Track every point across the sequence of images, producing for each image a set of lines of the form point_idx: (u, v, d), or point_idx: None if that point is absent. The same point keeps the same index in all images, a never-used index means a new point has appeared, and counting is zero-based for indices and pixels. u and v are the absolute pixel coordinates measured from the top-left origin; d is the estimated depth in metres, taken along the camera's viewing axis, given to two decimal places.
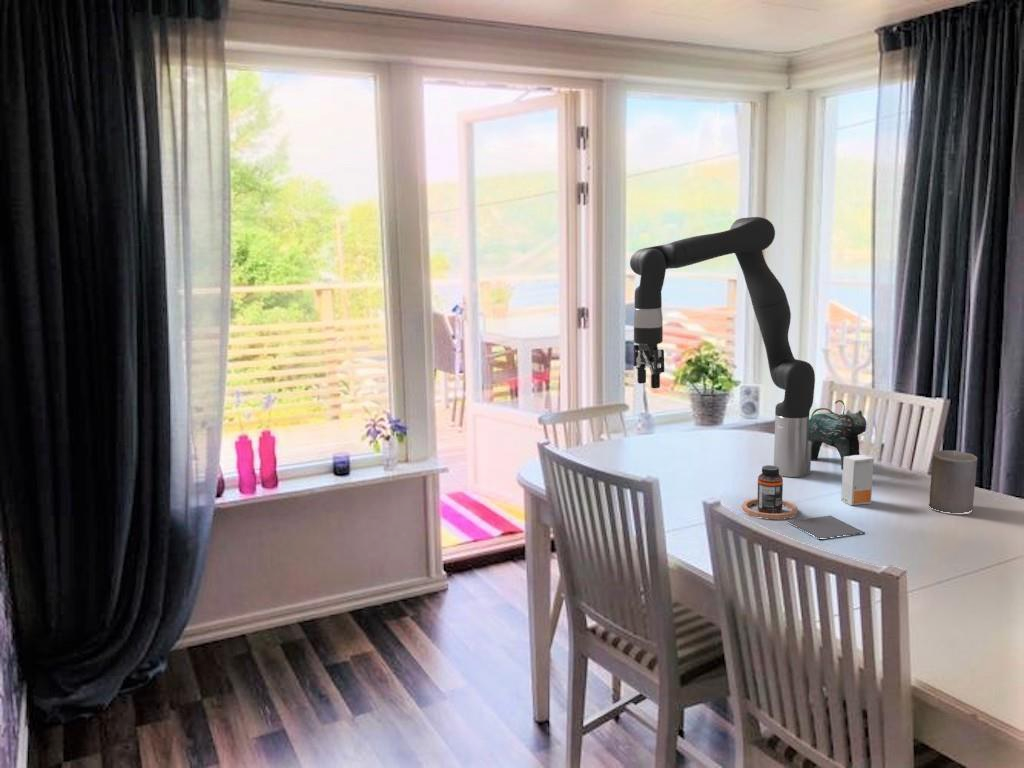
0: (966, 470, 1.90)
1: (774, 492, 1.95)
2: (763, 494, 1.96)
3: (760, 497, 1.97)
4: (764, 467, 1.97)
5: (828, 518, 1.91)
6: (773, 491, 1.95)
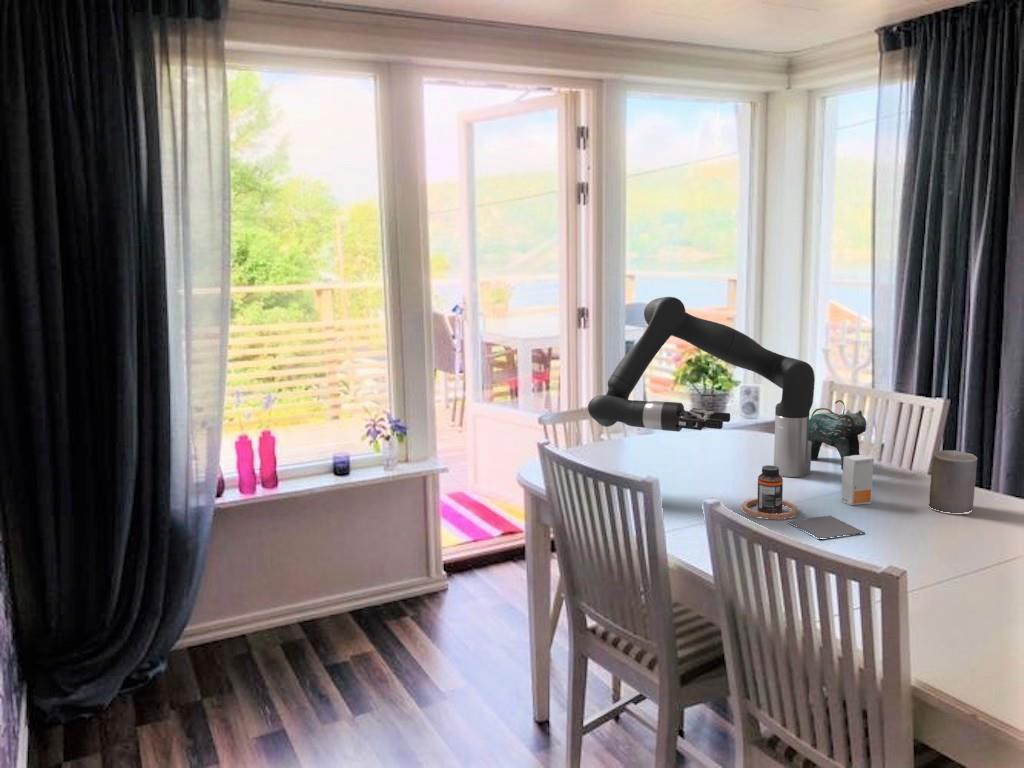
0: (966, 470, 1.90)
1: (774, 492, 1.95)
2: (763, 494, 1.96)
3: (760, 497, 1.97)
4: (764, 467, 1.97)
5: (828, 518, 1.91)
6: (773, 491, 1.95)
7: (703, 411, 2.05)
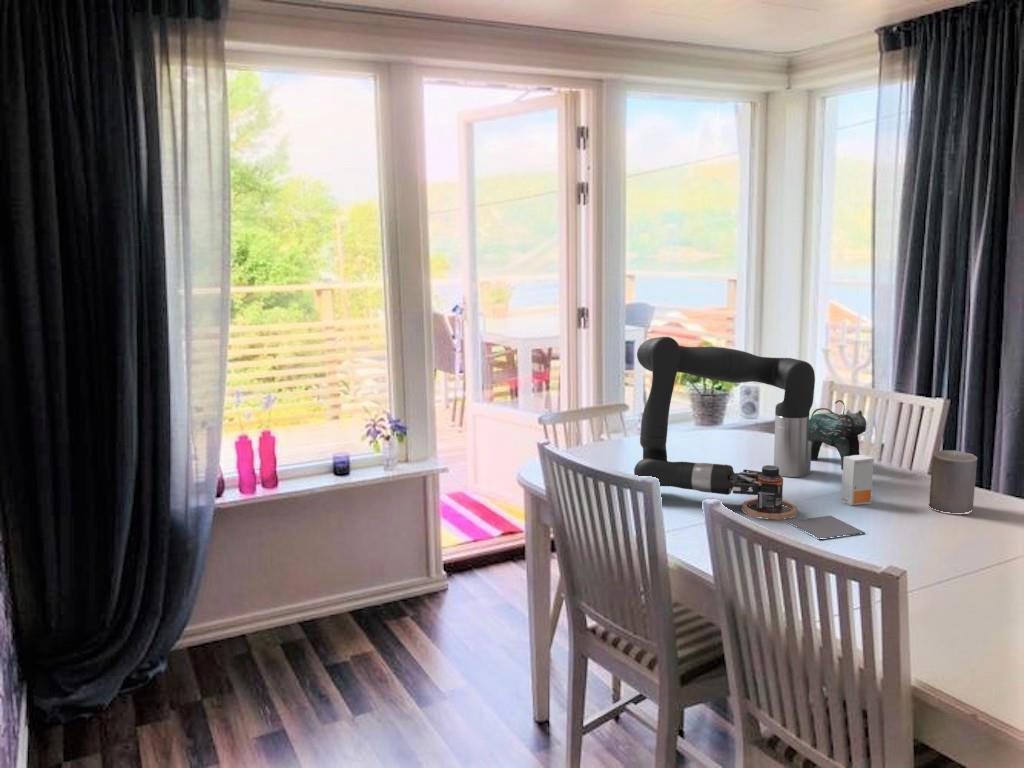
0: (966, 470, 1.90)
1: None
2: (763, 493, 1.96)
3: (760, 496, 1.97)
4: (764, 467, 1.97)
5: (828, 518, 1.91)
6: None
7: (754, 474, 2.01)
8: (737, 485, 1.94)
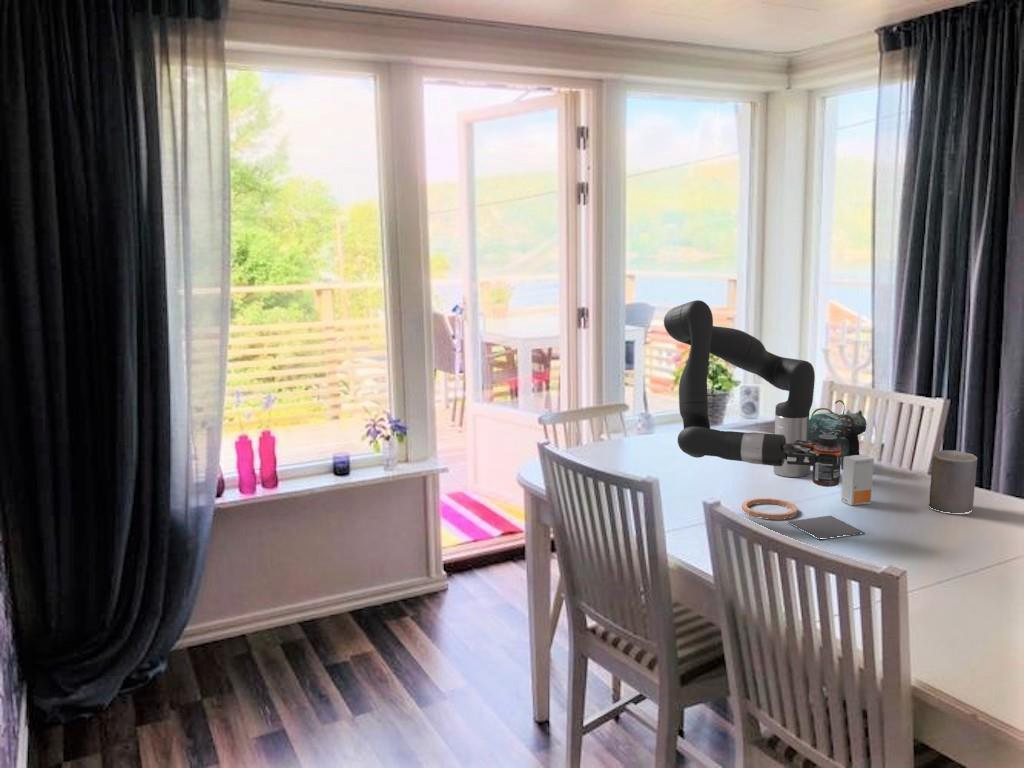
0: (966, 470, 1.90)
1: None
2: (819, 465, 1.81)
3: (816, 468, 1.82)
4: (821, 436, 1.82)
5: (828, 518, 1.91)
6: None
7: (808, 445, 1.86)
8: (792, 455, 1.80)
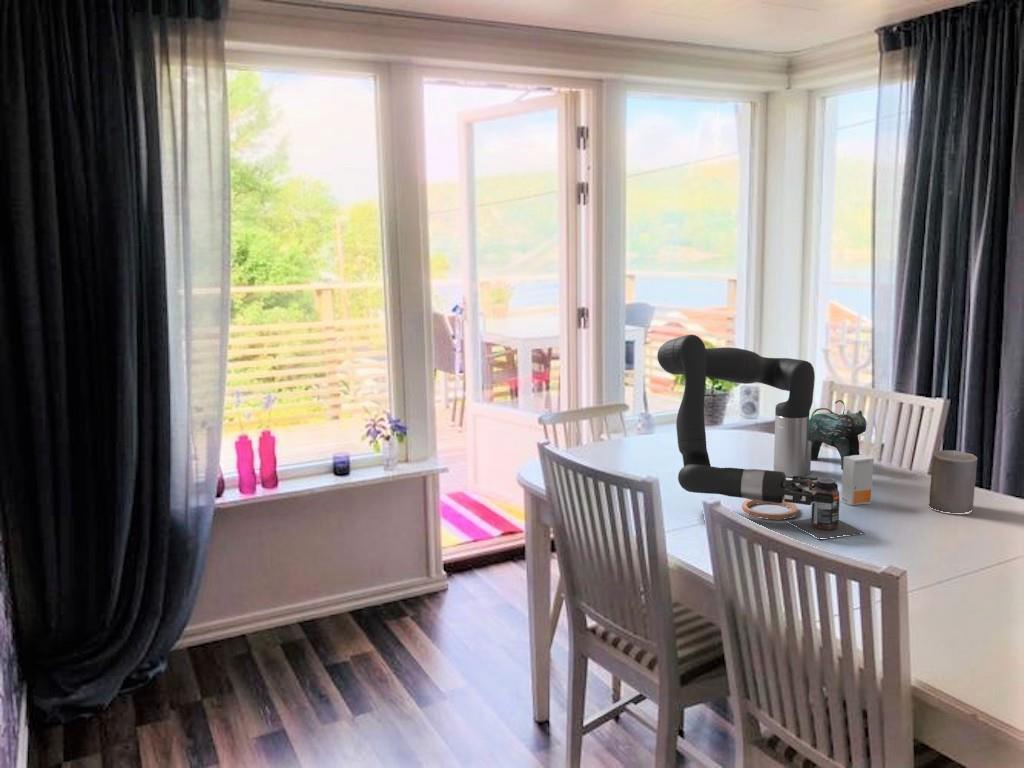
0: (966, 470, 1.90)
1: (831, 506, 1.82)
2: (818, 508, 1.83)
3: (815, 511, 1.84)
4: (819, 480, 1.84)
5: None
6: (829, 505, 1.82)
7: (807, 481, 1.88)
8: (789, 493, 1.81)
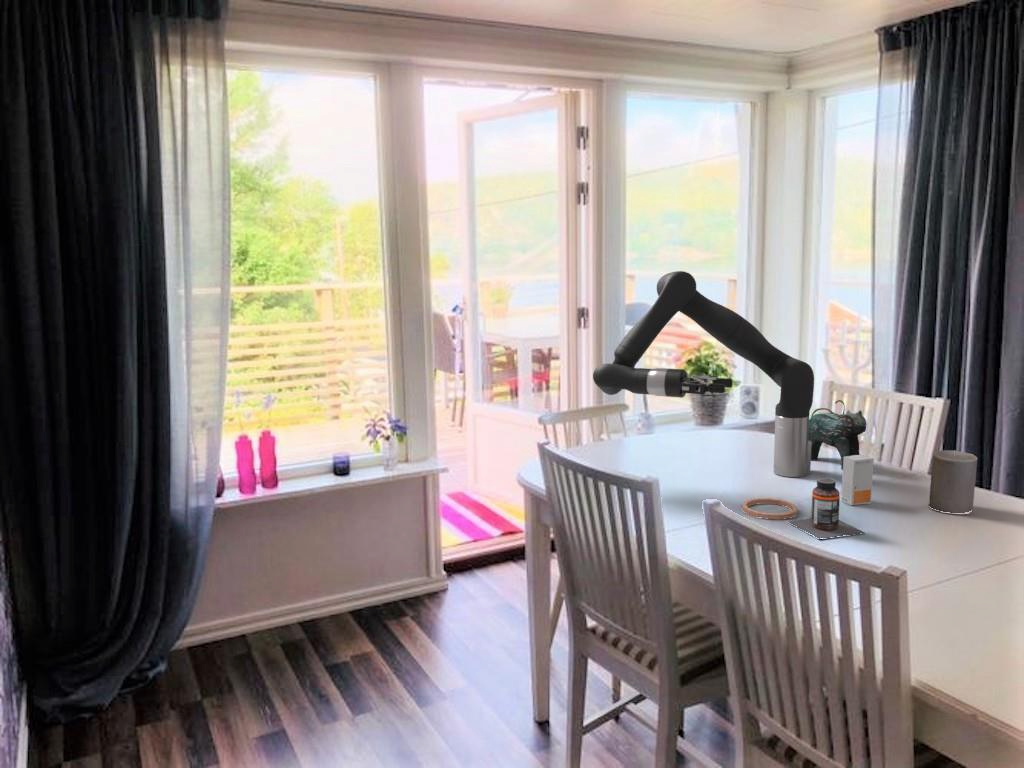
0: (966, 470, 1.90)
1: (831, 506, 1.82)
2: (818, 508, 1.83)
3: (815, 512, 1.84)
4: (819, 480, 1.84)
5: None
6: (829, 505, 1.82)
7: (706, 377, 2.09)
8: (685, 384, 2.02)
